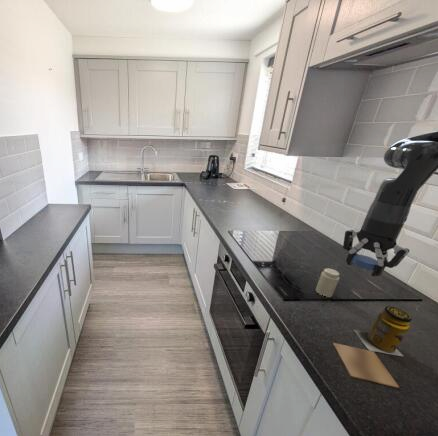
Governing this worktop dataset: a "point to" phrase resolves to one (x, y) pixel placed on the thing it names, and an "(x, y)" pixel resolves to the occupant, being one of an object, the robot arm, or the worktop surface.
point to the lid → (364, 261)
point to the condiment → (386, 331)
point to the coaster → (364, 365)
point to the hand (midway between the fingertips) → (361, 269)
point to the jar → (327, 282)
